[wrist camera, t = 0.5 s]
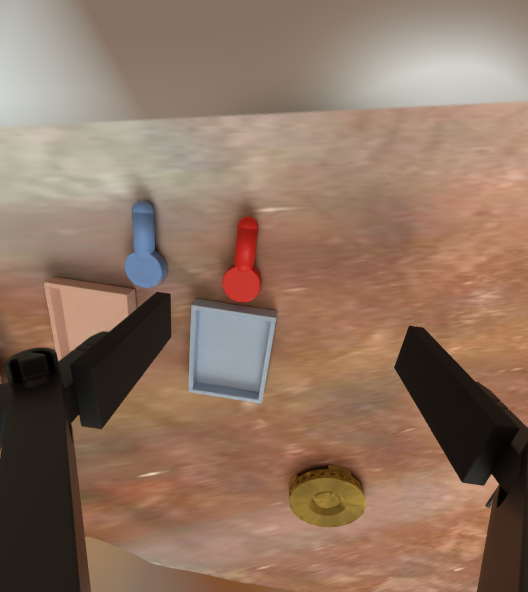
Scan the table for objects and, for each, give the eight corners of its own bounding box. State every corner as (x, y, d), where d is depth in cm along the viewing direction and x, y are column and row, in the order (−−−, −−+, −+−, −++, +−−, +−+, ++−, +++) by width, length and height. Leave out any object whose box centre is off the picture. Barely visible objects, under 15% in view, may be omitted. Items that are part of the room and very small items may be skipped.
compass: (276, 476, 46) (276, 490, 44) (345, 456, 43) (347, 469, 41) (308, 519, 49) (309, 533, 47) (373, 502, 46) (377, 517, 44)
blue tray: (196, 298, 34) (191, 304, 33) (276, 310, 34) (276, 317, 32) (192, 382, 39) (188, 392, 38) (262, 393, 39) (261, 403, 37)
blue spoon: (128, 197, 30) (117, 198, 28) (167, 203, 30) (158, 204, 28) (132, 280, 34) (122, 286, 32) (167, 285, 34) (159, 292, 32)
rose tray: (56, 276, 35) (43, 282, 33) (135, 289, 35) (126, 294, 33) (70, 362, 40) (59, 371, 38) (139, 373, 40) (132, 383, 38)
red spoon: (230, 212, 30) (226, 214, 28) (270, 218, 30) (269, 220, 28) (223, 294, 34) (219, 301, 32) (259, 299, 34) (257, 307, 32)
